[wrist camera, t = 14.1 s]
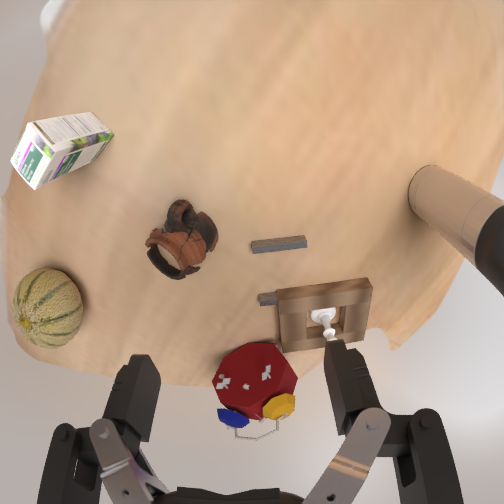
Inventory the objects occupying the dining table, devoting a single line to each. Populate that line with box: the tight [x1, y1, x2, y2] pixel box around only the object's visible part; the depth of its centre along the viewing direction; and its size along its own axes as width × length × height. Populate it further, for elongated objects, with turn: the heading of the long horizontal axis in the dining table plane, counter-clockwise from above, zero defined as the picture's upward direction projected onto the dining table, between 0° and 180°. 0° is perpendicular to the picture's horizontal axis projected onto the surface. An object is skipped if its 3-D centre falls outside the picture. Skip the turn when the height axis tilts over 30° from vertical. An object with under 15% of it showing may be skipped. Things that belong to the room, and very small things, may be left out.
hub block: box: [277, 278, 373, 353], centre depth 49 cm, size 16×13×3 cm
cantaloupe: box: [12, 268, 84, 349], centre depth 40 cm, size 15×15×15 cm
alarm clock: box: [212, 343, 298, 441], centre depth 46 cm, size 15×9×20 cm, turn 114°
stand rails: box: [252, 235, 307, 306], centre depth 44 cm, size 8×11×2 cm
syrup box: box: [11, 112, 114, 190], centre depth 27 cm, size 6×6×14 cm
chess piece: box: [310, 307, 337, 341], centre depth 46 cm, size 5×5×10 cm
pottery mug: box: [145, 200, 218, 280], centre depth 39 cm, size 12×10×8 cm
